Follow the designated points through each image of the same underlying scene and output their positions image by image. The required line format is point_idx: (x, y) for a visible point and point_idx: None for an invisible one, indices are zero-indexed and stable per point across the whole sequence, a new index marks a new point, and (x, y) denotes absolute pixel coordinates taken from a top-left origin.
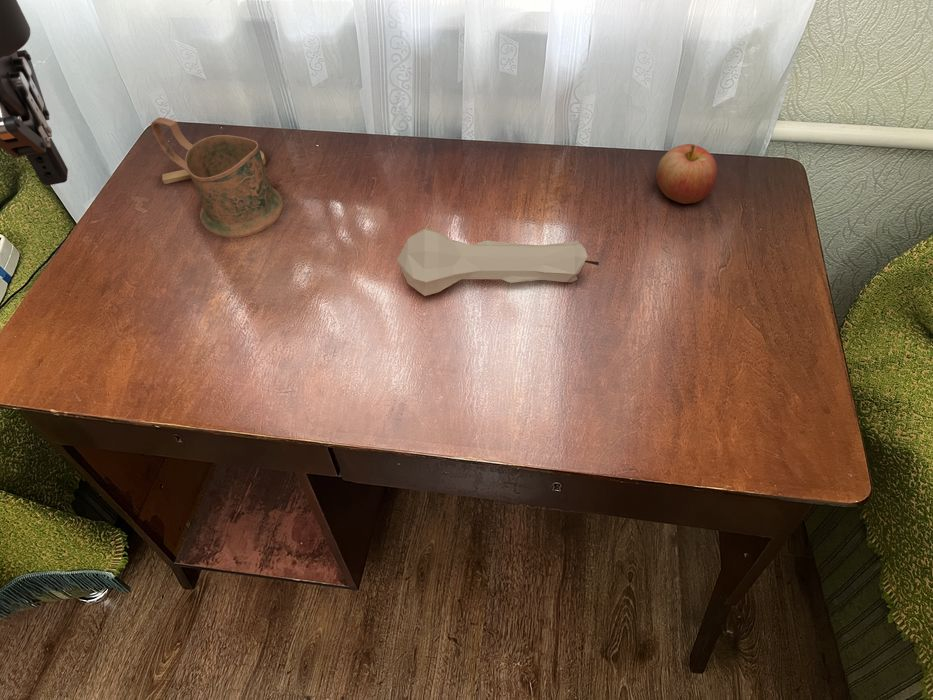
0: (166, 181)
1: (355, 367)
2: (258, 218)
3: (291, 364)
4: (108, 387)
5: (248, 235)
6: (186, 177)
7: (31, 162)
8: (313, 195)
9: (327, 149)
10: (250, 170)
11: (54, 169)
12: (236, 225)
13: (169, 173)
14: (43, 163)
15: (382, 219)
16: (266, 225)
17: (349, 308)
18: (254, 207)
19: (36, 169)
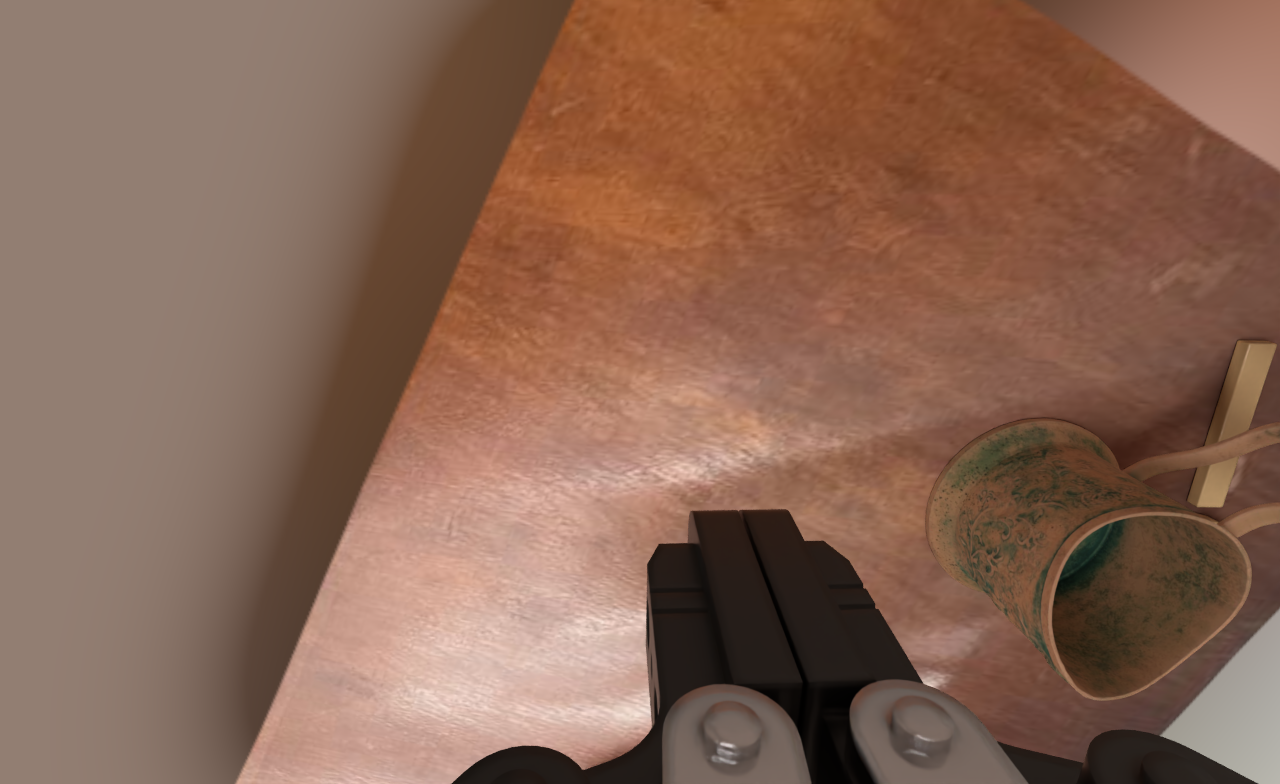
0: (1241, 350)
1: (473, 642)
2: (954, 552)
3: (516, 544)
4: (572, 179)
5: (926, 511)
6: (1225, 399)
7: (714, 616)
8: (987, 648)
9: None
10: (1040, 651)
11: (649, 686)
12: (956, 506)
13: (1266, 363)
14: (653, 698)
15: None
16: (935, 554)
17: (623, 657)
18: (973, 570)
19: (653, 618)
